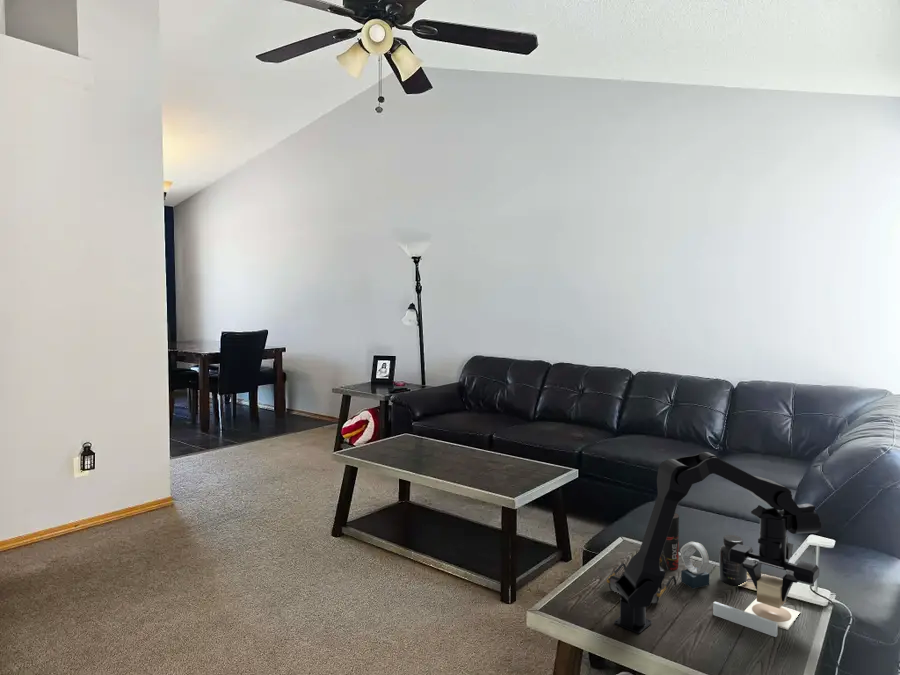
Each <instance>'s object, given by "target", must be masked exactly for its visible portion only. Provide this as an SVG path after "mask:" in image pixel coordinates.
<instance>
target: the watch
mask: <svg viewBox="0 0 900 675" xmlns="http://www.w3.org/2000/svg"><path fill="white" fill-rule="evenodd" d="M697 551H698V552H699V555H700V556H701V563H700V564H699V567H698V566H694V565H693V563H692V559H691V558H692V557H693V555H694V554H695V553H696V552H697ZM679 554H680V557H681V558H680V559H682V563H683V565H684V566H685V568H686V569H682V570H681V571H680V573H681V575H680V580H681V583H683V584H685V585H686V586H688V587H689V588H691V589H693V590H694V589H697V588H702V587H706V586H710V573H708V572H707V570H708V567H709V565H710V558H709V554H708V551H707V549H706V548H705V546H704V545H703V544H702V543H699V542H698V541H697V542H695V541H689V542H686V543H685V544H683V546H681V548H680V549H679Z"/></svg>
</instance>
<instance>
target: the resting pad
mask: <svg viewBox="0 0 900 675" xmlns="http://www.w3.org/2000/svg"><path fill="white" fill-rule="evenodd" d="M744 611H745V612H748V613H751V614H754V615H757V616H759V617H762V618H765V619H768V620H771V621H774V622H777V623H778V628H781V629H783V630H787V631H789V629H790V628H791V627H792V625H793V624H794V623H795V622H796V620H797V619H798V618H799V616H800V615H801V614H802V612H801V611H798V610H795V609H792V608H789V607H786V606H783V605H782V606H781V607H780V609H779V608H776V607H773V606H770V605H767V604H764V603H761V602H757V597H756V598H755V599H754V600H753V601H752V602H751V603H750V604H749V605H748V606H747V607H746V609H745V610H744ZM800 613H801V614H800ZM799 614H800V615H799ZM798 615H799V616H798ZM797 617H798V618H797ZM796 618H797V619H796ZM794 621H795V622H794Z"/></svg>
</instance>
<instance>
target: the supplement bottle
mask: <svg viewBox="0 0 900 675" xmlns="http://www.w3.org/2000/svg"><path fill="white" fill-rule="evenodd" d="M722 544H723V545H721V546H720V548H719V555H718V556H719V557H718V558H719V564H718V568H719V570H718V571H719V572H718V573H719V575H718V576H719V580H720V581H721V582H722V584H724V585H727V586H731V587H735V586H738V585H740V584H742V583H744V582H746V581H747V582H748V572H747V570H746V569H745V568H743V567H742V564H743V563H741V564H739V563H736V562H733V561H730V560H728V553H729V550H730V549H731V548H733V547H734V546H735V545H737V544H741V545H744V539H743V538H742V536H738V535H733V534H727V535H724V536H723V542H722Z"/></svg>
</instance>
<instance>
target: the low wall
mask: <svg viewBox="0 0 900 675" xmlns="http://www.w3.org/2000/svg"><path fill="white" fill-rule="evenodd" d="M712 607H713V608H712V615H713V616H715V617H717V618H718V617H719V618H722V619H724V620H727V621H729V622H732V623H735V624H737V625H741V626H743V627H746V628H749V629H752V630H755V631H757V632H760V633H762V634H766V635H768V636H771V637H775V638H777V637H778V628H779V627H778V623H777V622H774V621H771V620H768V619H765V618H762V617H759V616H757V615H754V614H751V613H748V612H745V610H742V609H739V608H735V607H734V606H731V605H727V604H723V603H721V602H718V601H713V602H712Z"/></svg>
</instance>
